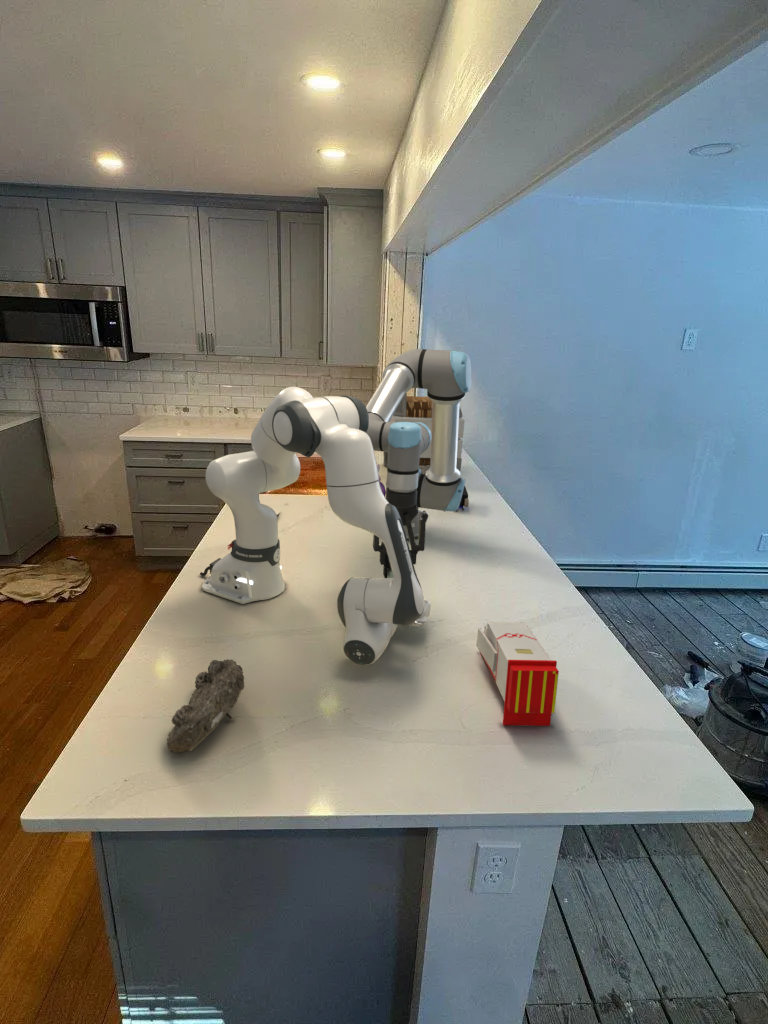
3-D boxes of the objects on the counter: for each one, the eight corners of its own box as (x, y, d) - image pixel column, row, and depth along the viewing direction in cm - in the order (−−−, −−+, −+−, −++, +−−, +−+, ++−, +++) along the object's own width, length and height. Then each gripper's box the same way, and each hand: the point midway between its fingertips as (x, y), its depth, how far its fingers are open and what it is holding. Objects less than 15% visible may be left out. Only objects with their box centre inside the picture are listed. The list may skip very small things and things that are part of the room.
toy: (524, 607, 134) (567, 667, 105) (519, 659, 137) (560, 732, 107) (473, 606, 133) (502, 666, 104) (469, 658, 136) (497, 731, 107)
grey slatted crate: (382, 463, 289) (386, 382, 275) (445, 464, 293) (451, 384, 279) (390, 482, 257) (394, 392, 243) (460, 483, 261) (468, 394, 247)
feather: (287, 506, 225) (290, 502, 224) (270, 530, 198) (272, 526, 198) (283, 504, 225) (286, 500, 224) (265, 527, 198) (268, 523, 197)
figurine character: (468, 516, 224) (463, 500, 237) (471, 498, 221) (465, 483, 234) (452, 515, 224) (447, 499, 237) (453, 498, 220) (449, 482, 234)
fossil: (192, 660, 117) (244, 628, 112) (224, 691, 120) (276, 661, 115) (142, 746, 98) (202, 712, 93) (182, 779, 101) (242, 748, 96)
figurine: (370, 505, 227) (371, 469, 222) (359, 497, 235) (360, 462, 230) (391, 502, 231) (393, 467, 226) (379, 495, 240) (381, 460, 234)
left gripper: (424, 613, 130) (437, 587, 142) (341, 598, 135) (360, 574, 147) (423, 637, 132) (435, 609, 144) (340, 621, 137) (359, 595, 150)
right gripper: (436, 483, 140) (429, 568, 148) (362, 483, 138) (359, 569, 146) (442, 493, 133) (435, 581, 141) (365, 492, 131) (362, 583, 139)
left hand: (396, 591), depth 146 cm, fingers closed on jar, 5 cm apart
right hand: (397, 575), depth 143 cm, fingers closed on lid, 5 cm apart
